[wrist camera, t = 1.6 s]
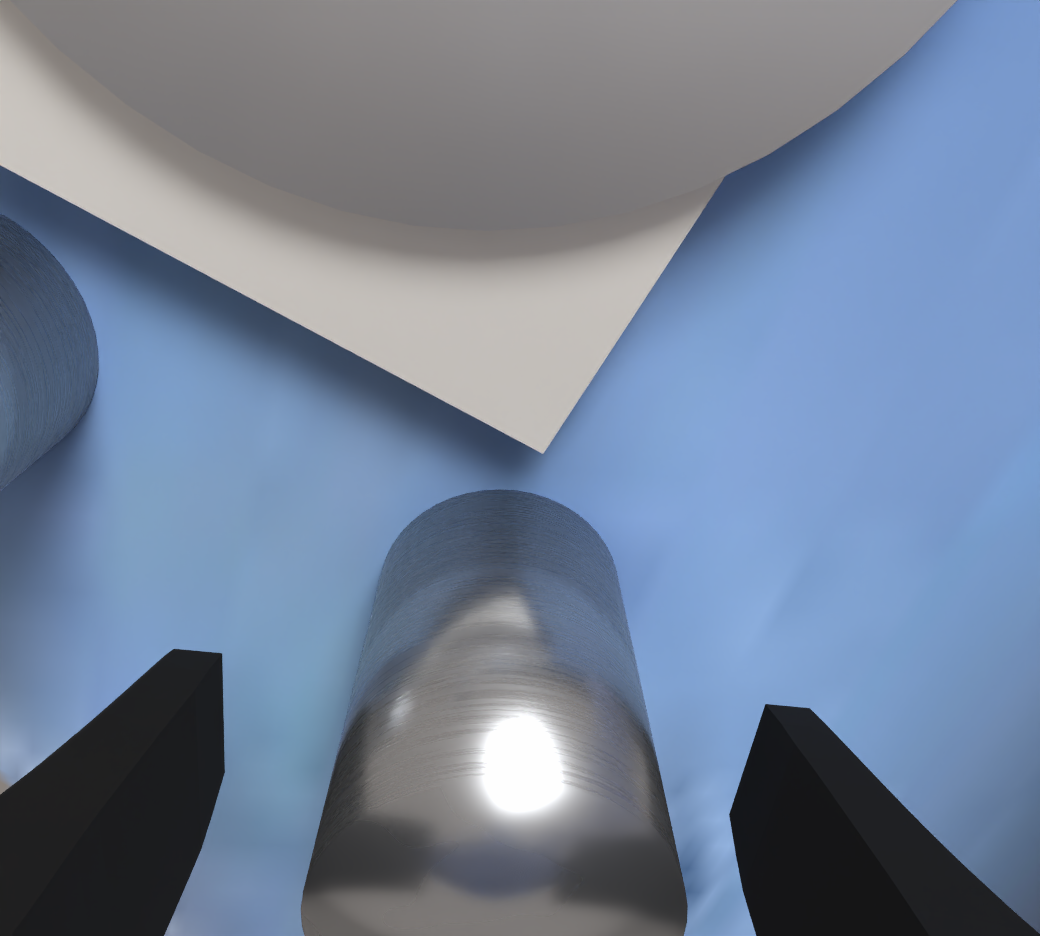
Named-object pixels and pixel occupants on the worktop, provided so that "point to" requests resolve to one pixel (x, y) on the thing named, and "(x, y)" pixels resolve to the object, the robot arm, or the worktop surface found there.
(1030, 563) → the worktop surface
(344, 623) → the worktop surface
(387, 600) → the cylinder
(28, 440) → the cylinder
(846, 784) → the robot arm
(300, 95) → the scale
